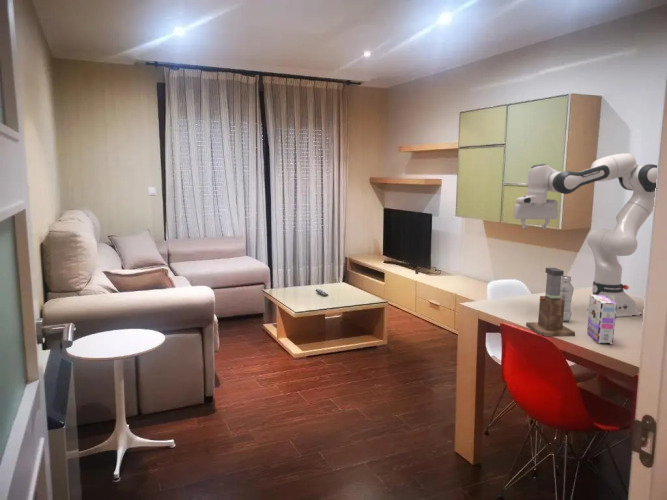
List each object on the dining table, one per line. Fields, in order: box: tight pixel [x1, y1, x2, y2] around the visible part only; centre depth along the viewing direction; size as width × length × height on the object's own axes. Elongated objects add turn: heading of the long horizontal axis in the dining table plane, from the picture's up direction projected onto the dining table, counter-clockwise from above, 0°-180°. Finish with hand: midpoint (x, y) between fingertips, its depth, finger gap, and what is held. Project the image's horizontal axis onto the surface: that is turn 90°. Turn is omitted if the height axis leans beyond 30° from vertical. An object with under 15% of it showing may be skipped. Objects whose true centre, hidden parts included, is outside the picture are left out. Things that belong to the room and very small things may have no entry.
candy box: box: [586, 294, 617, 344], centre depth 200 cm, size 14×6×16 cm, turn 170°
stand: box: [525, 295, 576, 337], centre depth 209 cm, size 14×14×14 cm
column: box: [544, 267, 565, 300], centre depth 208 cm, size 4×7×18 cm, turn 4°
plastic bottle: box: [560, 275, 575, 322], centre depth 223 cm, size 6×7×20 cm
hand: (534, 228), depth 237 cm, fingers open, 8 cm apart
